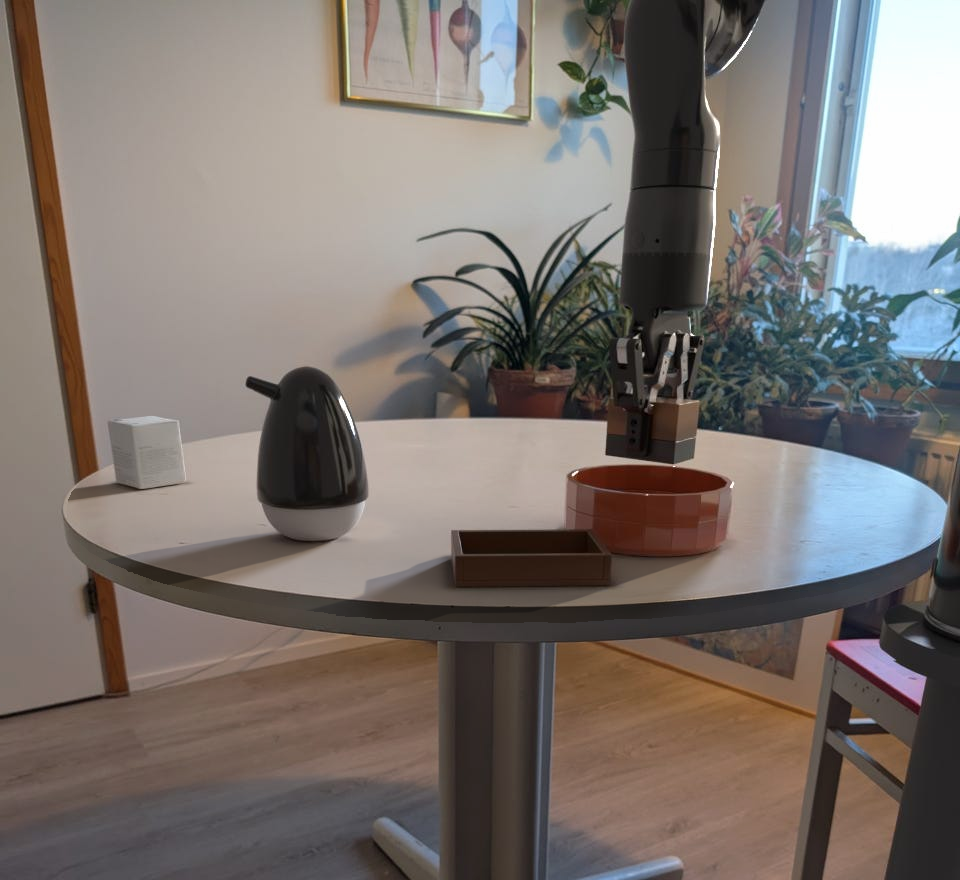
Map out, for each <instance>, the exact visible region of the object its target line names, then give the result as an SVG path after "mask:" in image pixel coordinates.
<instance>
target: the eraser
mask: <svg viewBox="0 0 960 880" xmlns="http://www.w3.org/2000/svg"><path fill="white" fill-rule="evenodd" d="M700 404H701V401H700V400H697V399H691V400H688V399H676V398H665V397H656V401H655V406H654V410H653V413H652V414H651V415H653V424H652V436H651V447H650V454H649V455H648V456H646V457H635V456H628V455H627V454H626V453H625V441H626V428H627V412H625V411H624V409H623V408H622V407H618V406H615V405H614V401H613V396H612V397H609V398H608V404H607V418H606V434H605V435H606V437H605V450H604V451H605V452H604V454H605V456H608V457H615V458H623V459H628V460H629V459H630V460H636V461H642V462H643V461H644V462H651V463H659V464H666V465H676V464H680V463H684V462H686V461H690V460H693V459H695V451H696V442H697V434H698V423H699V416H700V415H699V414H700Z"/></svg>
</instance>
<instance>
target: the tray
mask: <svg viewBox="0 0 960 880" xmlns="http://www.w3.org/2000/svg"><path fill="white" fill-rule="evenodd" d="M450 531H451V532H450V560H451V567H452V573H453V582H454V587H455V588H480V587H481V588H482V587H483V588H485V587H486V588H487V587H497V588H498V587H574V586H575V587H577V586H578V587H580V586H581V587H584V586H587V587H589V586H593V587H595V586H596V587H597V586H611V576H612V575H611V574H612V560H613V559H612V558H613V554H612V552H609V551H608V549H607V548H606V547H605V545H604V544H603V543H602V542H601V540H600V539H599V538H598V536H597V535H596V534H595V532H594V531H593V530H592V529H586V530H585V529H565V528H564V529H451V530H450Z"/></svg>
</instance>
